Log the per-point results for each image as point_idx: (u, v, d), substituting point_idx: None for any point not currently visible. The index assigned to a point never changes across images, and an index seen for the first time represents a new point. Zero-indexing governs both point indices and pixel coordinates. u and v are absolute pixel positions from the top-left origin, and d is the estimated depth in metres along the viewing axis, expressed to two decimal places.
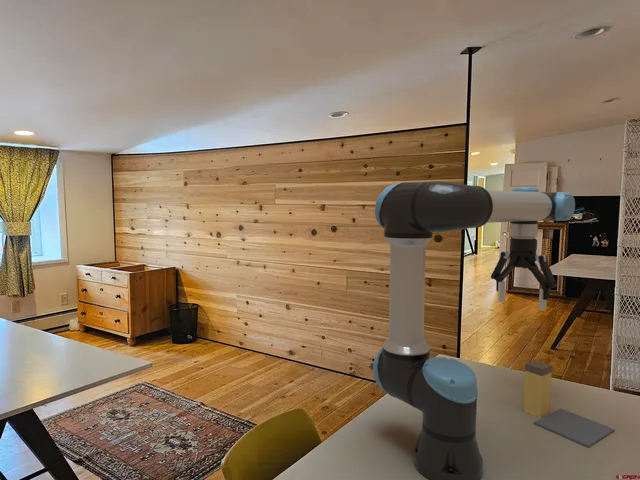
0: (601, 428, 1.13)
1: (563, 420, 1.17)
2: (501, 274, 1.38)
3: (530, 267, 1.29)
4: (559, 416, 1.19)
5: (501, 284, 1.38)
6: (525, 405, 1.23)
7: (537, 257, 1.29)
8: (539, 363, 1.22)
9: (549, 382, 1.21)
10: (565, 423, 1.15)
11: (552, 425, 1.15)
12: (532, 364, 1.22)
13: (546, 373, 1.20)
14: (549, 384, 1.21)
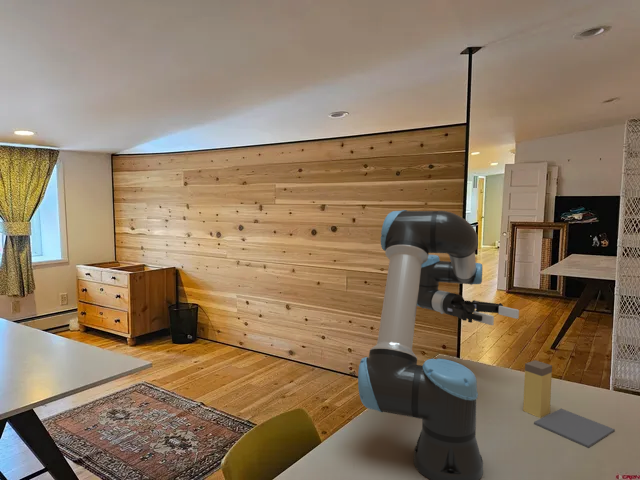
0: (601, 428, 1.13)
1: (563, 420, 1.17)
2: (467, 309, 1.34)
3: (477, 302, 1.42)
4: (559, 416, 1.19)
5: None
6: (525, 405, 1.23)
7: None
8: (539, 363, 1.22)
9: (549, 382, 1.21)
10: (565, 423, 1.15)
11: (552, 425, 1.15)
12: (532, 364, 1.22)
13: (546, 373, 1.20)
14: (549, 384, 1.21)
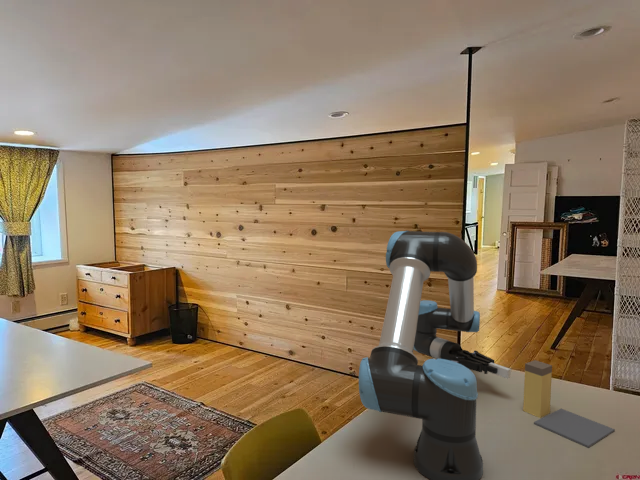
0: (601, 428, 1.13)
1: (563, 420, 1.17)
2: (478, 361, 1.37)
3: (473, 354, 1.42)
4: (559, 416, 1.19)
5: None
6: (525, 405, 1.23)
7: None
8: (539, 363, 1.22)
9: (549, 382, 1.21)
10: (565, 423, 1.15)
11: (552, 425, 1.15)
12: (532, 364, 1.22)
13: (546, 373, 1.20)
14: (549, 384, 1.21)
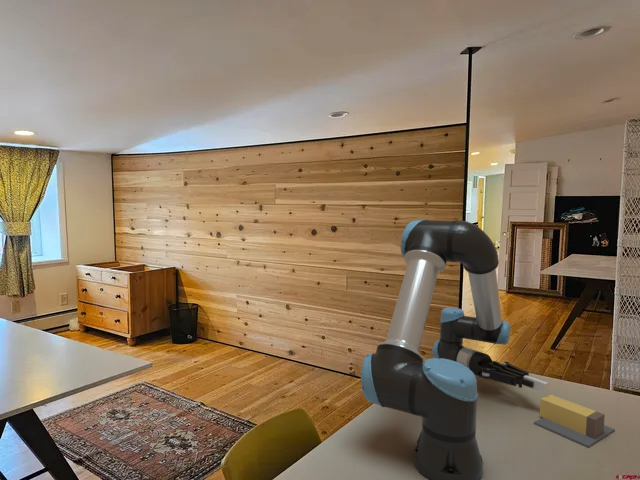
0: None
1: None
2: (512, 373, 1.27)
3: (504, 365, 1.33)
4: None
5: None
6: (547, 403, 1.18)
7: None
8: (600, 425, 1.10)
9: None
10: None
11: (552, 425, 1.15)
12: (597, 424, 1.08)
13: None
14: None
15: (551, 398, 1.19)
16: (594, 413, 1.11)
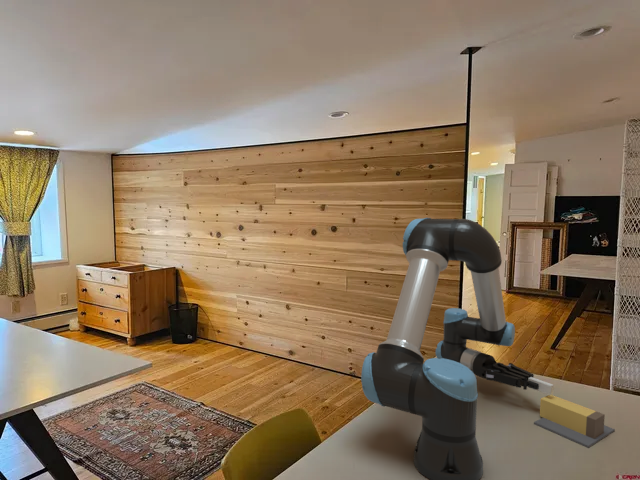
0: None
1: None
2: (517, 375, 1.26)
3: (509, 367, 1.31)
4: None
5: None
6: (547, 403, 1.18)
7: None
8: (600, 425, 1.10)
9: None
10: None
11: (552, 425, 1.15)
12: (597, 424, 1.08)
13: None
14: None
15: (551, 398, 1.19)
16: (594, 413, 1.11)
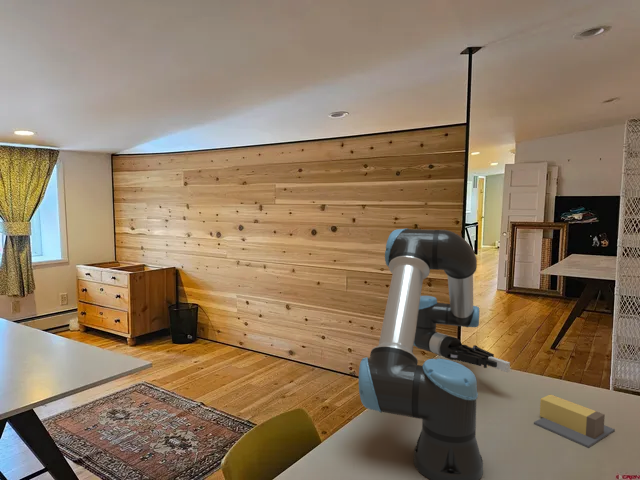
0: None
1: None
2: (478, 355, 1.37)
3: (472, 348, 1.42)
4: None
5: None
6: (547, 403, 1.18)
7: None
8: (600, 425, 1.10)
9: None
10: None
11: (552, 425, 1.15)
12: (597, 424, 1.08)
13: None
14: None
15: (551, 398, 1.19)
16: (594, 413, 1.11)
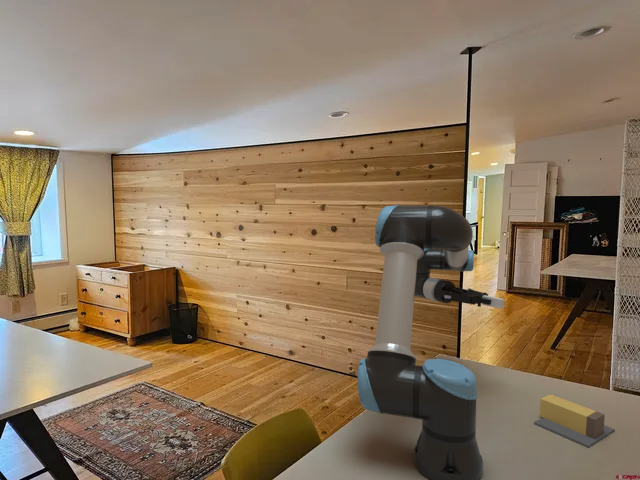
0: None
1: None
2: (472, 294, 1.34)
3: (465, 289, 1.39)
4: None
5: None
6: (547, 403, 1.18)
7: None
8: (600, 425, 1.10)
9: None
10: None
11: (552, 425, 1.15)
12: (597, 424, 1.08)
13: None
14: None
15: (551, 398, 1.19)
16: (594, 413, 1.11)
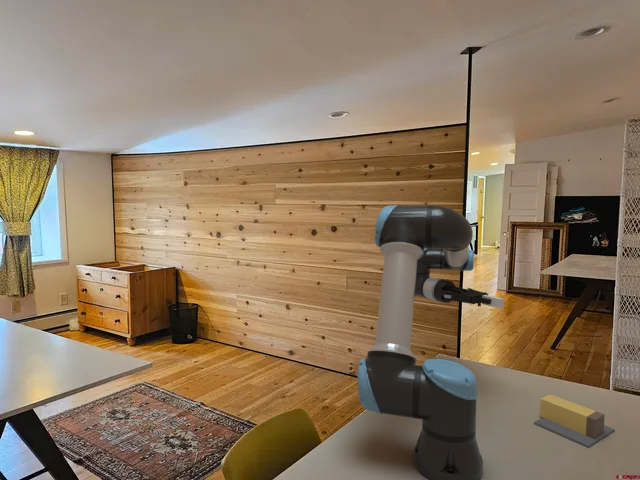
0: None
1: None
2: (472, 294, 1.34)
3: (466, 289, 1.39)
4: None
5: None
6: (547, 403, 1.18)
7: None
8: (600, 425, 1.10)
9: None
10: None
11: (552, 425, 1.15)
12: (597, 424, 1.08)
13: None
14: None
15: (551, 398, 1.19)
16: (594, 413, 1.11)
